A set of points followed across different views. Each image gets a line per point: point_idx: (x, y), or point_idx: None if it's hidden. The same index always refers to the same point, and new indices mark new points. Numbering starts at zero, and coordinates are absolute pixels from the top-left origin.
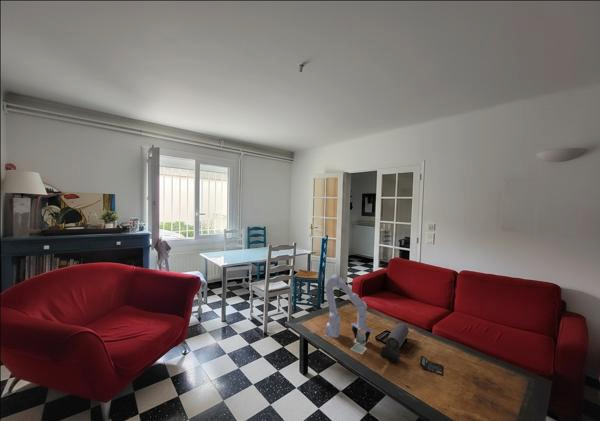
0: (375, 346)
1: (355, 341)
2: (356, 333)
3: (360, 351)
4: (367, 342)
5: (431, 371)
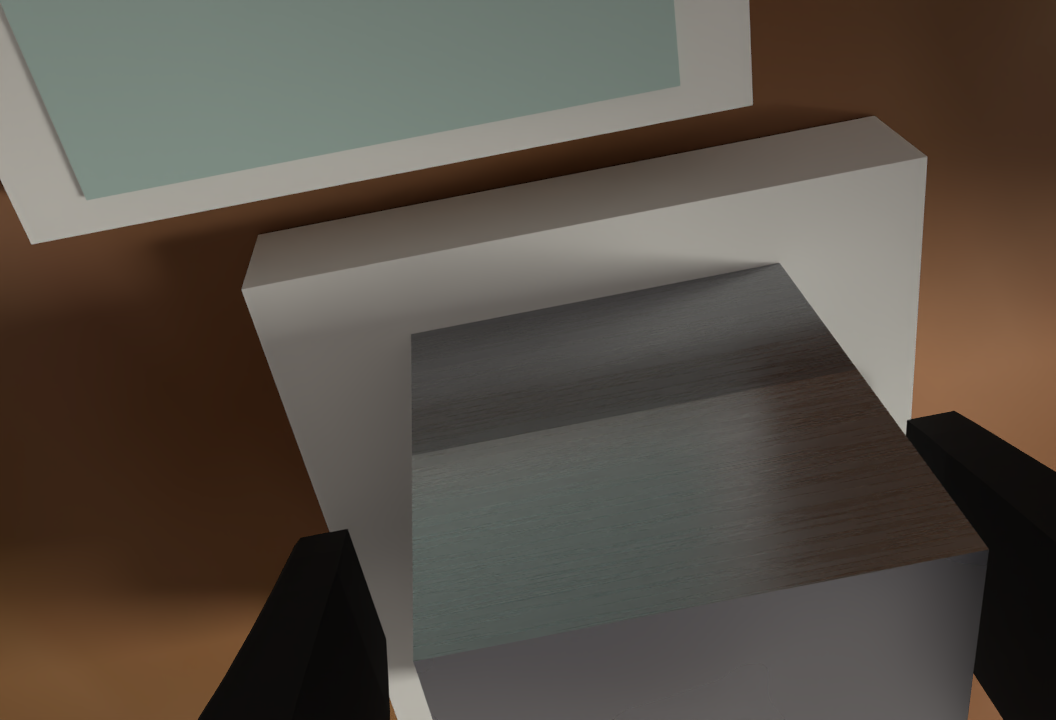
0: (81, 655)
1: (830, 269)
2: (1037, 685)
3: None
4: None
5: None
